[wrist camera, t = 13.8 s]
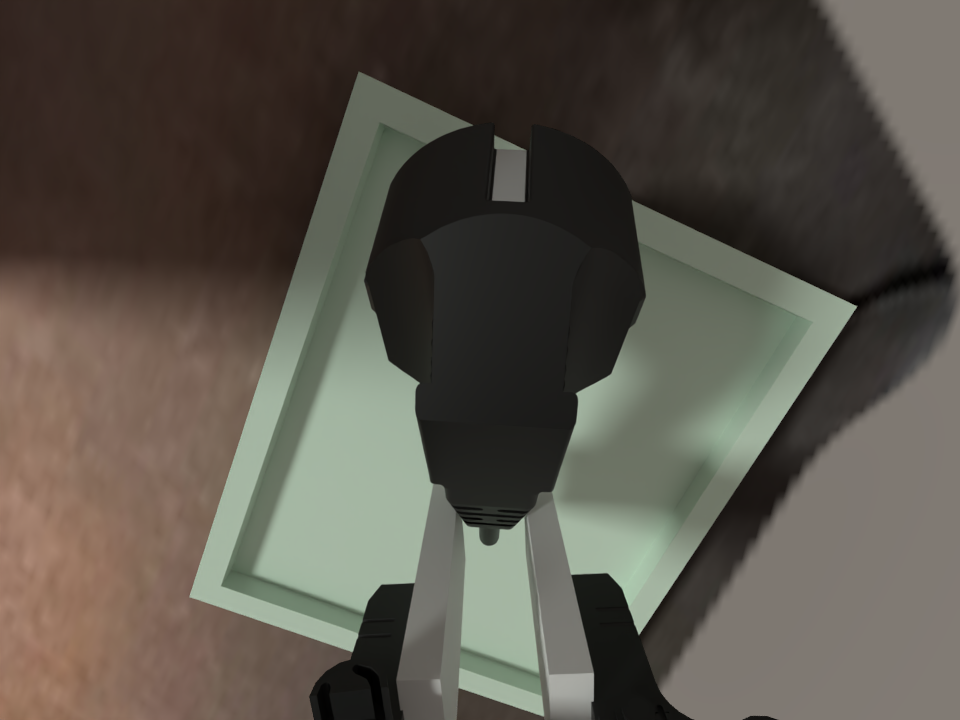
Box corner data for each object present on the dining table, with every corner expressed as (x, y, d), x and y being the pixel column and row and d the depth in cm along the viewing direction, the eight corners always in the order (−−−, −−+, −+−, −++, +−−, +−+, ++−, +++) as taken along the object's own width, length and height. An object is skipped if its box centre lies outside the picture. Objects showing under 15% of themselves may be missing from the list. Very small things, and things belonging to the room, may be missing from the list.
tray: (370, 83, 16) (358, 71, 14) (827, 298, 18) (857, 306, 16) (209, 570, 21) (189, 596, 20) (571, 695, 23) (577, 728, 22)
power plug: (400, 554, 16) (280, 319, 7) (430, 362, 21) (386, 45, 11) (575, 568, 16) (726, 345, 6) (569, 371, 20) (652, 55, 11)
